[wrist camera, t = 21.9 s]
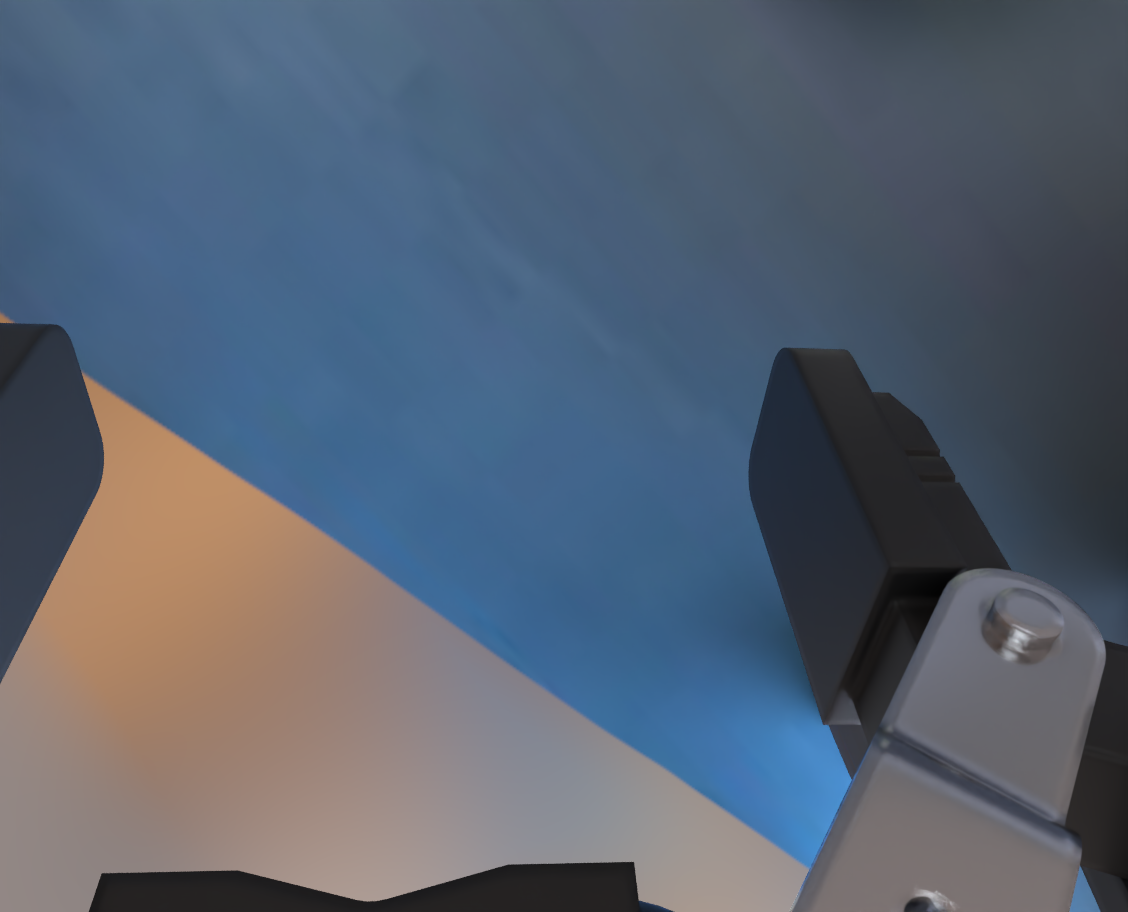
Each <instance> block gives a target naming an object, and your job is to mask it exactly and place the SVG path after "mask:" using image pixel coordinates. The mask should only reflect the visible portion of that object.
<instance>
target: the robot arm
mask: <svg viewBox="0 0 1128 912" xmlns="http://www.w3.org/2000/svg"><path fill="white" fill-rule="evenodd" d="M103 466H104V450H103V442H102V437H101V434H100V430H99V427H98V424H97V421H96V418H95V415H94V411H93V408H92V405H91V402H90V398H89V396H88V392H87V389H86V386H85V382H84V379H83V376H82V373H81V370H80V366H79V363H78V360H77V357H76V354H75V350H74V347H73V344H72V342H71V339H70V338H69V336H68V334H67V333H66V331H65V330H64V329H63V328H62V327H60V326H58V325H51V324H17V323H0V683H1V681H2V679H3V677H4V675H5V673H6V671H7V669H8V667H9V665H10V663H11V661H12V659H13V657H14V655H15V653H16V651H17V649H18V647H19V645H20V643H21V642H22V640H23V637H24V636H25V634H26V632H27V630H28V628H29V626H30V624H31V622H32V620H33V618H34V616H35V614H36V612H37V610H38V608H39V606H40V604H41V602H42V600H43V598H44V596H45V594H46V592H47V590H48V588H49V586H50V584H51V582H52V580H53V578H54V576H55V575H56V573H57V571H58V568H59V567H60V565H61V563H62V561H63V559H64V557H65V555H66V553H67V551H68V549H69V547H70V545H71V543H72V541H73V539H74V537H75V535H76V533H77V531H78V529H79V527H80V525H81V523H82V521H83V519H84V517H85V515H86V513H87V511H88V509H89V507H90V506H91V504H92V501H93V499H94V498H95V496H96V493H97V491H98V489H99V486H100V483H101V479H102V474H103ZM749 490H750V497H751V501H752V505H753V508H754V511H755V514H756V517H757V520H758V523H759V526H760V529H761V533H762V536H763V539H764V542H765V545H766V548H767V551H768V554H769V557H770V561H771V564H772V567H773V570H774V573H775V576H776V579H777V582H778V585H779V589H780V592H781V595H782V598H783V601H784V604H785V607H786V610H787V613H788V617H789V620H790V623H791V626H792V629H793V632H794V635H795V638H796V641H797V645H798V648H799V651H800V654H801V657H802V660H803V663H804V666H805V669H806V672H807V676H808V679H809V682H810V685H811V688H812V691H813V694H814V697H815V700H816V704H817V707H818V710H819V713H820V716H821V719H822V722H823V725H861V726H862V729H863V731H864V734H865V737H866V740H867V742H868V745H869V746H868V748H867V750H866V752H865V754H864V756H863V758H862V760H861V762H860V765H859V767H858V769H857V771H856V773H855V775H854V777H853V779H852V781H851V783H850V786H849V788H848V790H847V792H846V794H845V796H844V798H843V800H842V802H841V804H840V807H839V809H838V811H837V813H836V815H835V817H834V819H833V821H832V823H831V826H830V828H829V830H828V832H827V834H826V836H825V838H824V840H823V842H822V844H821V847H820V849H819V851H818V853H817V855H816V857H815V859H814V861H813V863H812V865H811V868H810V870H809V872H808V874H807V876H806V878H805V880H804V882H803V885H802V886H801V889H800V891H799V893H798V895H797V897H796V899H795V901H794V903H793V905H792V907H791V909H790V912H1069V910H1070V906H1071V902H1072V897H1073V893H1074V888H1075V884H1076V880H1077V875H1078V871H1079V866H1081V868H1082V870H1083V873H1084V875H1085V877H1086V879H1087V882H1088V884H1089V886H1090V888H1091V891H1092V893H1093V895H1094V897H1095V900H1096V902H1097V904H1098V906H1099V909H1100V911H1101V912H1128V647H1127V646H1123V645H1119V644H1115V643H1112V642H1108V641H1105V640H1103V639H1102V636H1101V634H1100V632H1099V630H1098V628H1097V627H1096V625H1095V623H1094V622H1093V621H1092V619H1091V618H1090V617H1089V616H1088V615H1087V613H1086V612H1085V611H1084V610H1083V609H1082V608H1081V607H1080V606H1079V605H1078V604H1076V603H1075V602H1074V601H1073V600H1072V599H1070V598H1069V597H1068V596H1066V595H1065V594H1064V593H1062V592H1060V591H1059V590H1057V589H1056V588H1054V587H1052V586H1051V585H1049V584H1046V583H1044V582H1042V581H1040V580H1038V579H1036V578H1033V577H1031V576H1028V575H1025V574H1022V573H1018V572H1014V571H1012V570H1011V568H1010V567H1009V565H1008V563H1007V562H1006V560H1005V558H1004V557H1003V555H1002V553H1001V552H1000V550H999V548H998V547H997V545H996V543H995V542H994V540H993V538H992V537H991V535H990V533H989V532H988V530H987V528H986V527H985V525H984V523H983V521H982V520H981V518H980V516H979V515H978V513H977V511H976V510H975V508H974V506H973V505H972V503H971V501H970V500H969V498H968V496H967V495H966V493H965V491H964V490H963V488H962V486H961V485H960V483H956V482H955V475H954V473H953V471H952V470H951V468H950V466H949V465H948V463H947V461H946V460H945V458H944V457H940V449H939V448H938V446H937V444H936V443H935V441H934V439H933V438H932V436H931V434H930V433H929V431H928V429H927V428H926V426H925V424H924V423H923V421H922V420H921V419H920V418H919V417H918V416H916V415H915V414H914V413H913V412H912V411H910V410H909V409H908V408H907V407H905V406H904V405H903V404H902V403H901V402H899V401H898V400H897V399H896V398H895V397H893V396H892V395H891V394H890V393H878V392H872V391H871V389H870V388H869V386H868V384H867V382H866V380H865V378H864V377H863V375H862V373H861V371H860V369H859V368H858V366H857V364H856V362H855V360H854V358H853V357H852V355H851V354H850V353H849V352H848V351H847V350H844V349H809V348H782V349H781V350H780V351H779V352H778V354H777V355H776V357H775V360H774V363H773V366H772V370H771V374H770V378H769V382H768V385H767V389H766V393H765V397H764V401H763V405H762V409H761V413H760V417H759V421H758V425H757V429H756V433H755V437H754V441H753V444H752V448H751V453H750V460H749ZM89 912H673V911H671V910H668V909H666V908H663V907H661V906H658V905H654V904H650V903H646V902H642V901H639V900H638V893H637V883H636V875H635V867H634V862H614V863H613V862H612V863H565V864H522V865H521V864H520V865H506V866H502V867H498V868H495V869H491V870H488V871H484V872H481V873H477V874H474V875H470V876H467V877H463V878H460V879H456V880H453V881H449V882H446V883H442V884H438V885H435V886H431V887H428V888H424V889H421V890H417V891H414V892H411V893H407V894H403V895H400V896H396V897H393V898H389V899H385V900H380V901H370V902H366V901H359V900H354V899H350V898H346V897H342V896H338V895H334V894H330V893H326V892H322V891H318V890H314V889H310V888H306V887H302V886H298V885H293V884H289V883H286V882H282V881H277V880H274V879H270V878H266V877H261V876H258V875H254V874H249V873H245V872H241V871H194V872H148V873H102V874H101V877H100V880H99V883H98V886H97V889H96V893H95V895H94V898H93V901H92V904H91V907H90V910H89Z"/></svg>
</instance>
